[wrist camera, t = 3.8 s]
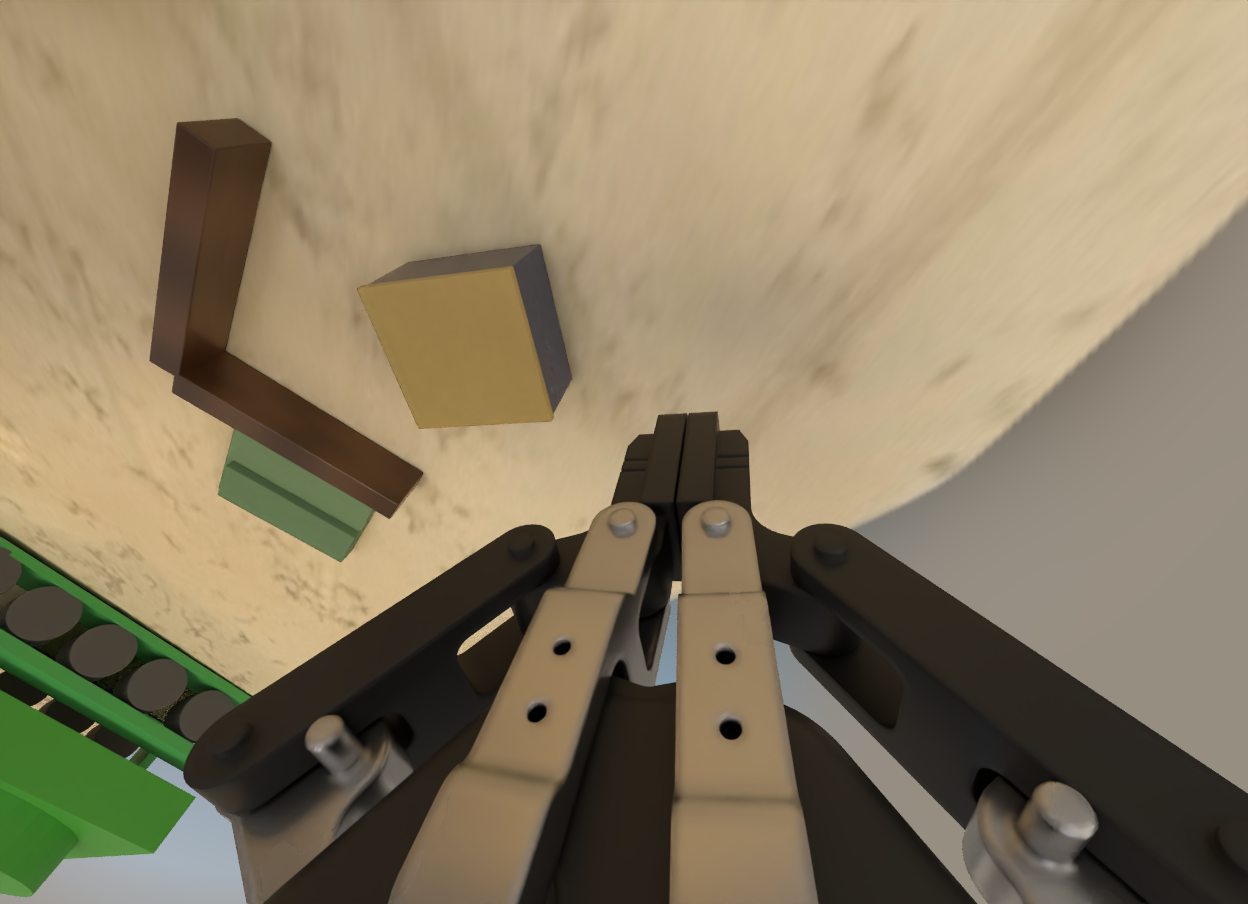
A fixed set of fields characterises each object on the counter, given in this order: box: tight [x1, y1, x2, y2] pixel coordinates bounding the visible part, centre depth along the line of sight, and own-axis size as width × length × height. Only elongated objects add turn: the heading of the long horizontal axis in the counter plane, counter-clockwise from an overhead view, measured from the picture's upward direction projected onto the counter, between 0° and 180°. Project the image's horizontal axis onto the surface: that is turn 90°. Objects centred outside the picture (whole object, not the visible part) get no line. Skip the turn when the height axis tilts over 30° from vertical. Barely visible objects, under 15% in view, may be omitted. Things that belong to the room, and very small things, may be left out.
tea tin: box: [357, 244, 572, 429], centre depth 23 cm, size 7×7×4 cm
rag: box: [218, 429, 374, 562], centre depth 33 cm, size 9×7×1 cm
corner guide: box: [150, 118, 423, 519], centre depth 27 cm, size 10×19×3 cm, turn 9°
